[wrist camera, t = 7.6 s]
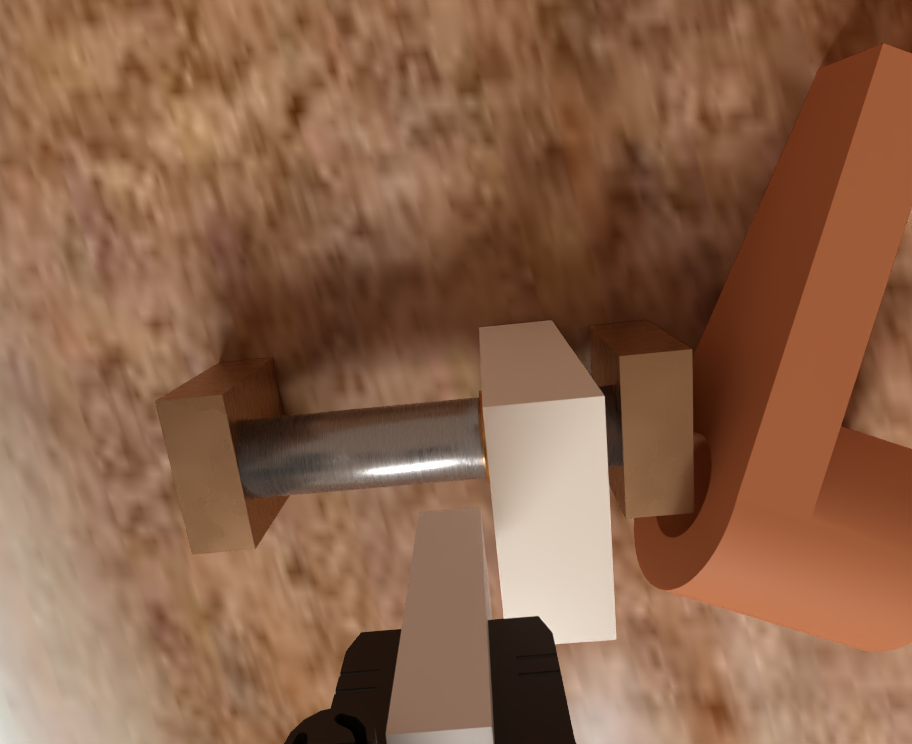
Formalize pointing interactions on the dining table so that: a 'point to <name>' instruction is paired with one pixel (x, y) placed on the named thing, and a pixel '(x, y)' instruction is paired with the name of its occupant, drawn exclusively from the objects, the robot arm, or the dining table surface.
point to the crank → (804, 385)
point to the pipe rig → (409, 439)
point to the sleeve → (548, 481)
